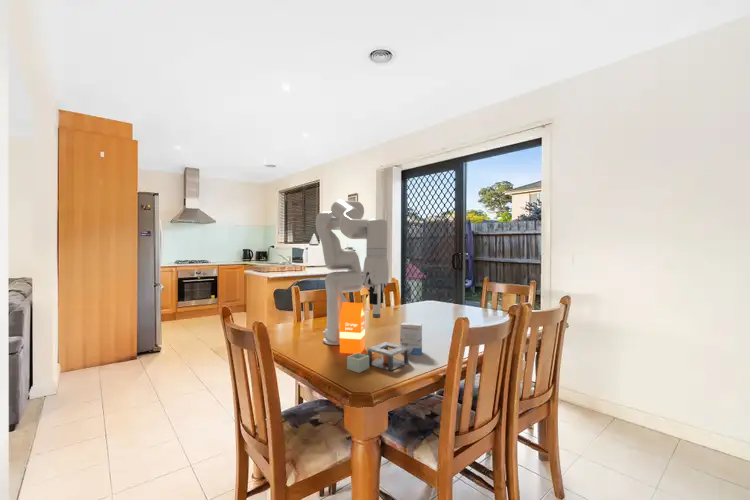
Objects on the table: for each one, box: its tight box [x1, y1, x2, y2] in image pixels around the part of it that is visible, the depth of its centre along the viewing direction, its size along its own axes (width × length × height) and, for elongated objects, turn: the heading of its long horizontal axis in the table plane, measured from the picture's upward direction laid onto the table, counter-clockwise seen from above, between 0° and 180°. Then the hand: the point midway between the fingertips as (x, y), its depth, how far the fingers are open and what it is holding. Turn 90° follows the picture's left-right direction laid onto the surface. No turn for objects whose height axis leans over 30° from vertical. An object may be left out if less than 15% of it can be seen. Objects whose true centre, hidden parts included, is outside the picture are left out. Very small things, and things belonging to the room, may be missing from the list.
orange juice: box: [339, 302, 366, 355], centre depth 147 cm, size 8×9×20 cm
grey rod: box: [372, 284, 382, 319], centre depth 129 cm, size 3×3×16 cm
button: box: [382, 354, 388, 364], centre depth 132 cm, size 4×4×3 cm
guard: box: [366, 341, 410, 372], centre depth 132 cm, size 11×11×6 cm
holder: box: [346, 353, 370, 374], centre depth 127 cm, size 6×6×4 cm
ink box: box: [399, 322, 423, 356], centre depth 146 cm, size 9×5×12 cm, turn 74°
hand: (376, 303), depth 129 cm, fingers closed on grey rod, 2 cm apart
